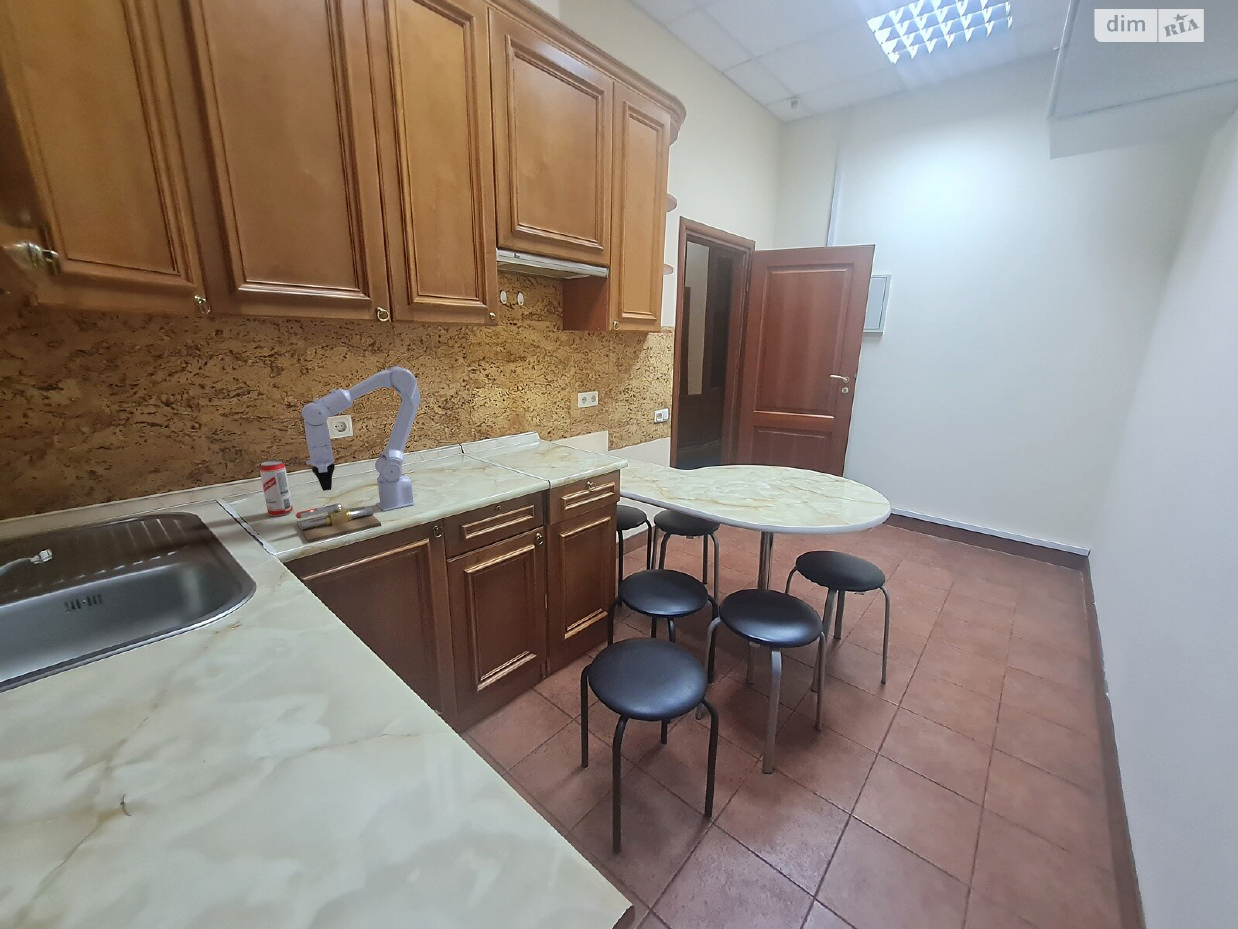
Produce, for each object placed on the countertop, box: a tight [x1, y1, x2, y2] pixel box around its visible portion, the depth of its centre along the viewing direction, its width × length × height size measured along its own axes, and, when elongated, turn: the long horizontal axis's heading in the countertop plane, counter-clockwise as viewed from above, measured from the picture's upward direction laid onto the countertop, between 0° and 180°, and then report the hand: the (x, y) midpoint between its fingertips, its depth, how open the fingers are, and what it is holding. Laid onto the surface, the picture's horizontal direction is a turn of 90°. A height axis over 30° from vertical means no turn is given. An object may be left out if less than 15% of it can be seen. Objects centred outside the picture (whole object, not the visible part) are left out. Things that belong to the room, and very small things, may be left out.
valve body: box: [300, 506, 374, 530], centre depth 136 cm, size 18×4×4 cm, turn 132°
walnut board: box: [296, 506, 382, 544], centre depth 136 cm, size 18×16×1 cm
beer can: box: [259, 460, 294, 517], centre depth 142 cm, size 6×6×16 cm
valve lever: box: [295, 503, 343, 519], centre depth 132 cm, size 11×3×2 cm, turn 137°
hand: (327, 489), depth 141 cm, fingers closed
